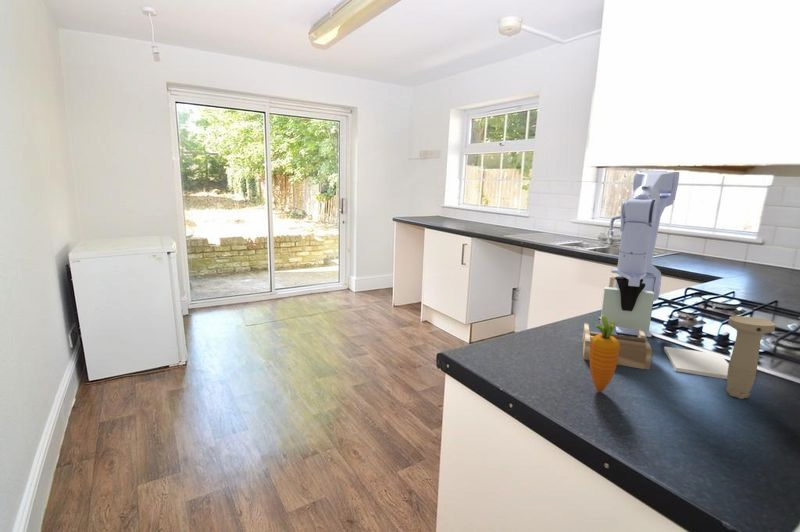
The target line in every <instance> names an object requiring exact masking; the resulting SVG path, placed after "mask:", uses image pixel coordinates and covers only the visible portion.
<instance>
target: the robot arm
mask: <svg viewBox="0 0 800 532" xmlns="http://www.w3.org/2000/svg"><path fill="white" fill-rule="evenodd" d="M679 178H680V171H679V172H667V171H654V170H641V171H638V170H637V171H636V172H635V174H634V177H633V183H632V191H633V192H632V194H631V197H630V198H629V199H628V198H627V201H625V200H623V203H622V205H621V208H620V209H621V210H620V232H621V233H620V234H621V235H620V243H619V249H618V250H619V251H618V259H617V260H618V261H617V268H611V270H610V271H611V274H617V275H616V276H615V280H616V281H615V287H614V288H619V289H620V295H621V308H622V310H625V311H632V310H633V308H634V306H635V303H636V300H637V298H638V296H639V294H640V293H641V291H642V290H643V291H653V292H654V299H653V302H655V301H657V300H658V299H659V296H660V292H661V286H662V273H661V270H660V269H658V268H657V267H656V266H654V265H653V258H654V253H655V248H656V242H657V237H658V232H659V227H660V223H661V222H660V221H661V217H662V214H663V212H664V210H665V208H667V207H669V206H673V204H674V201H675V200H676V195H677V191H678V185H679V181H680V179H679ZM614 329H615V331H616V333H617V334H624V335H629V336H630V335H631V336H636V337H638V329H630V328H622V327H615V326H614ZM642 331H644V333H645V336H646V338H651V337H652V334H651V331H650V330H649V331H645V330H642Z"/></svg>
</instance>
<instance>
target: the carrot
mask: <svg viewBox="0 0 800 532" xmlns="http://www.w3.org/2000/svg"><path fill="white" fill-rule="evenodd" d="M602 320H603V324H604V325H601V324H598V323H597V324H595V328H597V329H598V330H599V331H600V333H602V334H598V335H596V336H594V337H592V338H591V341H590V357H589V360H588V361H589V370H590V371H589V372H590V376H591V379H592V382H593V384H594V387H595V390H596V391H597V392H598V393H601V392H604V390H605V389H606V388H607V387H608V385H609V384H610V383H611V380H612V379H613V376H614V374H615V373H616V372H615V371H616V368H617V366H618V365H617V361H618V356H619V350H620V343H619V342H618V340H617V339H616V338H615V337H613V336H611V334H613V331H614V329H615V326H614V324H615V323H614V322H613V321H611V324H610V326H609V325H608V321H607V318H606V316H602Z"/></svg>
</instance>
